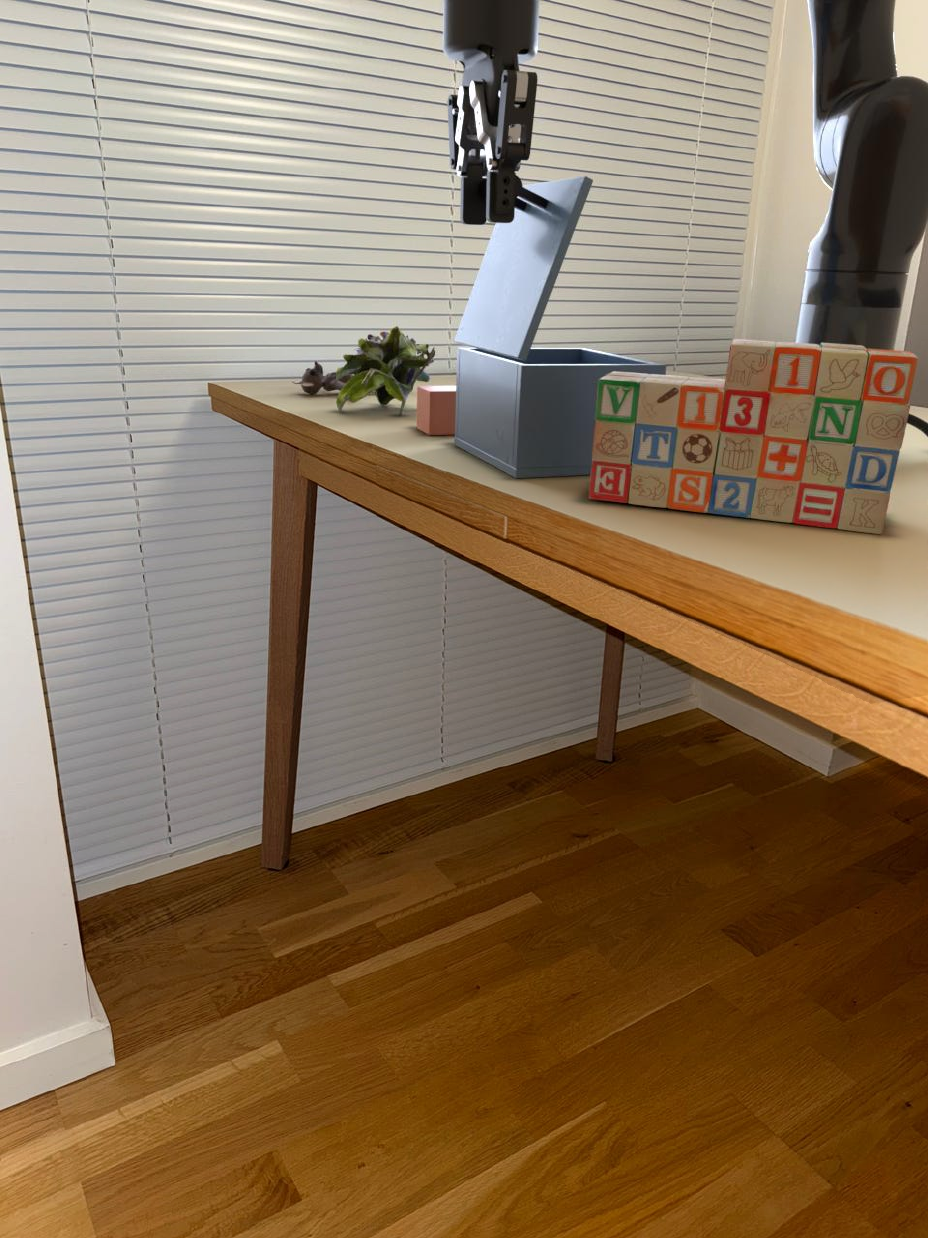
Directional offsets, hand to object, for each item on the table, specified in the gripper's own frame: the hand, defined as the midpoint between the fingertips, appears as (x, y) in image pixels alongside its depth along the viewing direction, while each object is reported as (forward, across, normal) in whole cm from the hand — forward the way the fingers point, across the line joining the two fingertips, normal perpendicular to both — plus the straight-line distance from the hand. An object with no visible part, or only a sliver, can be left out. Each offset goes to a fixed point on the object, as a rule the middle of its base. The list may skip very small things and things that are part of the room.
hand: (486, 222), depth 78 cm
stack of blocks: (+20, -21, -13) cm, 32 cm away
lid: (+4, 0, -3) cm, 5 cm away
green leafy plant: (+20, +30, 0) cm, 36 cm away
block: (+20, +15, -2) cm, 25 cm away
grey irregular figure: (+20, +46, +2) cm, 50 cm away
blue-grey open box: (+20, 0, -7) cm, 21 cm away
